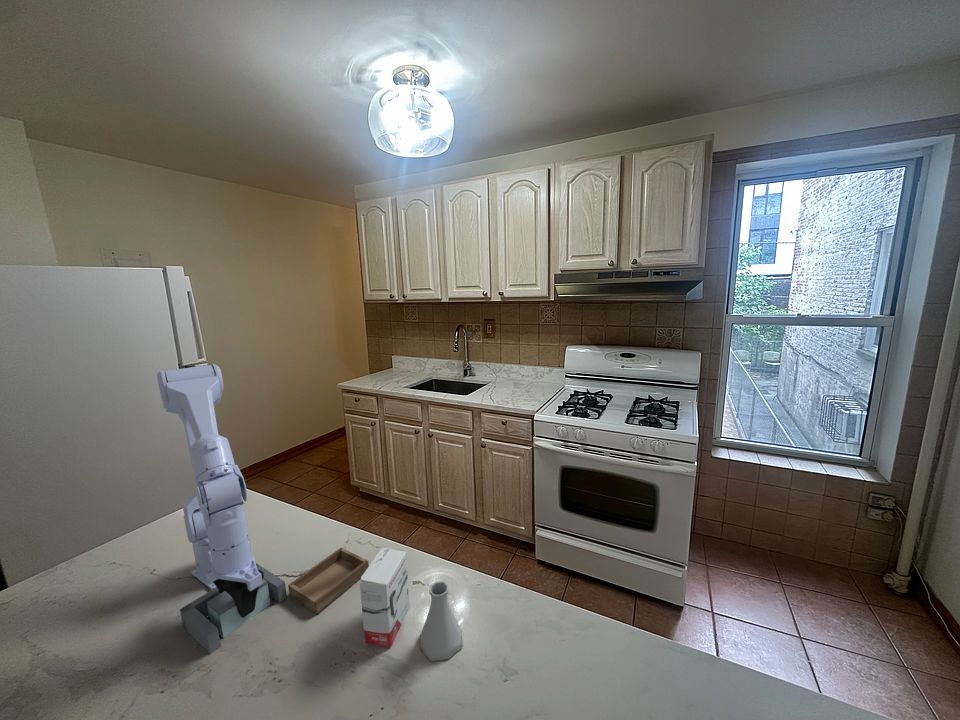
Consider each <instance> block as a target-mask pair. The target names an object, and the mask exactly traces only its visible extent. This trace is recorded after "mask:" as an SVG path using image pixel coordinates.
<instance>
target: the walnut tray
mask: <svg viewBox="0 0 960 720" xmlns="http://www.w3.org/2000/svg"><path fill="white" fill-rule="evenodd" d="M369 565H370V562H369V560H368V559H366V558H363V557H361V556H359V555H357V554H355V553H353V552H351V551H349V550H347V549H345V548H343V547H340V548H338V549H336V550H335V551H333V552H332V553H331V554H330V555H328V556H327V557H326V558H324V559H323V560H321V561H320V562H319V563H316V565H314V566H313V567H311V568H310V569H309V570H307V571H306V572H304V573H303V574H301V576H299V577H297V578H296V579H295V580H293V581H291V583H289V584H287V586H288V594H289V598H291V599H293V600H294V601H296V602H297V603H299V604H300V605H302V606H303V607H305V608H307V609H308V610H309V611H311V612H312V613H314V614H315V615H317V616H318V615H320V614H321V613H322V612H323V611H324V610H325V609H327V608H328V607H330V605H331V604H333V603H334V602H335V601H336V600H337V599H338V598H340V597H341V596H342V595H344V594H345V593H346V592H347V591H348V590H349V589H351V588H352V587H353V586H354V585H356V583H358V581H359V582H360V581H361V577H362V575H363V574H364V572H365V571H366V569H367V568H368V567H369Z"/></svg>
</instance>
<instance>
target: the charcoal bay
mask: <svg viewBox="0 0 960 720" xmlns="http://www.w3.org/2000/svg"><path fill="white" fill-rule="evenodd" d="M255 563H256V567H257V570H261V571H262V572H263V573H264V578H263V579H265V580H266V581H267V584H268V591H269V598H272V600H274V601H276V602H277V603H279V604H281V603H282V602H283V601H285V599H287V598H288V594H287V593H288V592H287V587H286V581H285V580H284V579H282V578H280V577H279V576H277V575H276V574H274V573H272V572H271V571H269V569H266V568H265V567H263V566H261V565H260V564H259V563H257V562H255ZM219 594H220V592H219V590H218V588H217V587H216V588H214V589H212V590H211V589H210V590H209V591H207V592H206V593H204V594H203V595H201V596H200V597H198V598H196V599H195V600H193V601H191V602H189V603H188V604H186V605H185V606H183V607H181V608H180V609H179V611H180V616H181V623H182V627H183V628H184V629H185V630H186V631H187V632H188V633H189V634H190V635H191V636H192V637H193V638H194V639H195V640H196V641H197V642H198V643H199V644H200V645H201V646H202V647H203V648H204V649H205V650H206V651H207V652H208V653H209V654H212V653H214V652H215V651H216V650H218V649H220V648H221V647H222V645H221V639H220V634H219V633H218V628H217V627H216V626H215V625H213V624H212V623H211V622H210V619H208V617H209V611H208V606H207V602H208V601H210V600H211V599H213V598H215V597H216V596H218V595H219Z"/></svg>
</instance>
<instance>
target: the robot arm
mask: <svg viewBox="0 0 960 720" xmlns="http://www.w3.org/2000/svg"><path fill="white" fill-rule="evenodd" d="M156 378H157V383H158V389H159V394H160V398H161V400H162V404H163V405H162V406H163V408H164V409H165V411H166V412H167V413H169V414H170V413H171V414H175V415H176V414H177V415H178V416H179V418H180V420H181V421H182V423H183V426H184V431H185V435H186V443H187V446H188V453H189V457H190V462H191V467H192V471H193V476H194V481H195V493H194V494H192V495H191V496H190V498H188V500H187V501H186V502H185V503H184V505H183V507H182V509H183V521H184V526H185V531H186V535H187V539H188V542H189V543H192V549H193V555H194V556H193V557H194V560H195V566H196V569H193V570H192V571H191V575H193V577H195V578H196V579H198V580H199V581H200V582H201V583H202V584H204V585H205V586H206V587H207V588H208V589H210V591H211V590H212V589H214V588H216V587H217V588H218V590H219V592H220V594H221V593H222V592H224V591H226V592H227V593H228V594H229V595H230V596H231V597H232V599H233V600H234V602H235V604H236V607H237V610H238V613H239V614H240V616H241V617H242V618H244V617H246V616H247V615H248V614H250V613H251V612H253V611H254V610H255V604H256V597H257V592H258V589H259V586H260V585H261V584H262V583H263V582H262V580H263V578H264V573H263V572H262V571H261V570H257V567H256V563H257V562H256V559H255V557H254V554H253V552H252V547H251V542H250V541H251V540H250V535H249V527H248V522H247V511H246V506H245V502H247V500H248V499H247V498H248V496H247V495H248V492H247V491H248V490H247V485H246V482H245V479H244V476H243V474H242V472H241V470H240V468H239V465H238V464H236V463H235V460H234V456H233V452H232V449H231V446H230V445H231V444H230V442H229V439H228V438H226V436H222V435H220V434H219V430H218V425H217V419H216V417H217V416H216V412H215V406H216V405H218V404H220V403H221V399H222V397H223V390H224V379H223V374H222V371H221V367H220V366H218V365H217V364H216V363H213V364H210V365H201V366H193V367H184V368H176V369H167V370H164V369H163V370H162V369H161V370H159V371H158V373H157V374H156Z"/></svg>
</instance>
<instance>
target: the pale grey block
mask: <svg viewBox="0 0 960 720" xmlns="http://www.w3.org/2000/svg"><path fill="white" fill-rule="evenodd" d="M262 582H263V583H262V584H261V585H260V586H259V589H258V592H257V597H256V604H255V610H254V611H253V612H251V613H250V614H248V615H247V616H246V617H244V618H242V617H241V616H240V614H239V613H238V610H237V607H236V604H235V602H234V600H233V599H232V597H231V596H230V595H229V594H228V593H227V592H226V591H224V592H222V593H221V594H219V595H218V596H216V597H215V598H213V599H211V600H210V601H208V602H207V606H208V611H209V616H208V617H209V621H210V622H211V623H212V624H213V625H215V626H216V627H217V628H218V633H219V636H221V637H222V638H223V639H225V638H226V637H227V636H229V635H230V634H231V633H233V632H235V630H237V629H239V628H240V627H241V626H242V625H244V624H246V623H247V622H248V621H250V620H251V619H252V618H254V617H256V615H258V614H259V613H261V612H262V611H263V610H264V609H266V608H267V607H269V606H271V597H270V596H269V591H268V584H267V581H266V580H265V579H263V580H262Z"/></svg>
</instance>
